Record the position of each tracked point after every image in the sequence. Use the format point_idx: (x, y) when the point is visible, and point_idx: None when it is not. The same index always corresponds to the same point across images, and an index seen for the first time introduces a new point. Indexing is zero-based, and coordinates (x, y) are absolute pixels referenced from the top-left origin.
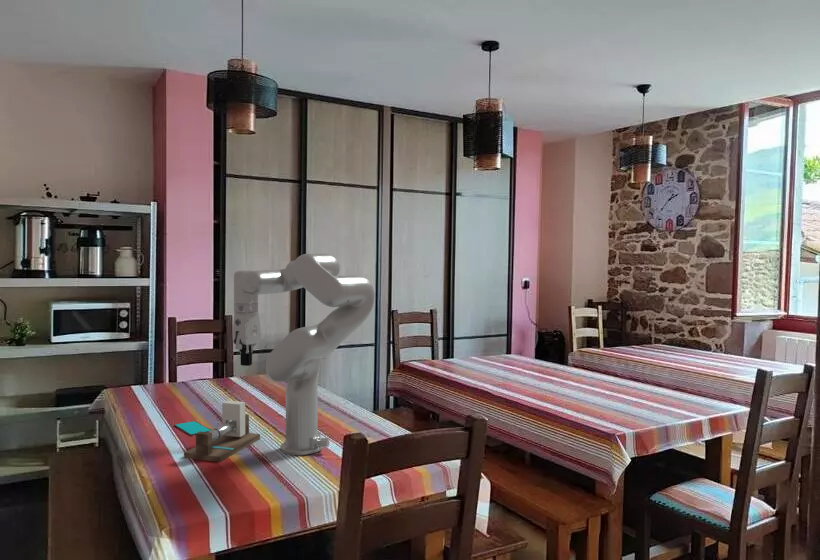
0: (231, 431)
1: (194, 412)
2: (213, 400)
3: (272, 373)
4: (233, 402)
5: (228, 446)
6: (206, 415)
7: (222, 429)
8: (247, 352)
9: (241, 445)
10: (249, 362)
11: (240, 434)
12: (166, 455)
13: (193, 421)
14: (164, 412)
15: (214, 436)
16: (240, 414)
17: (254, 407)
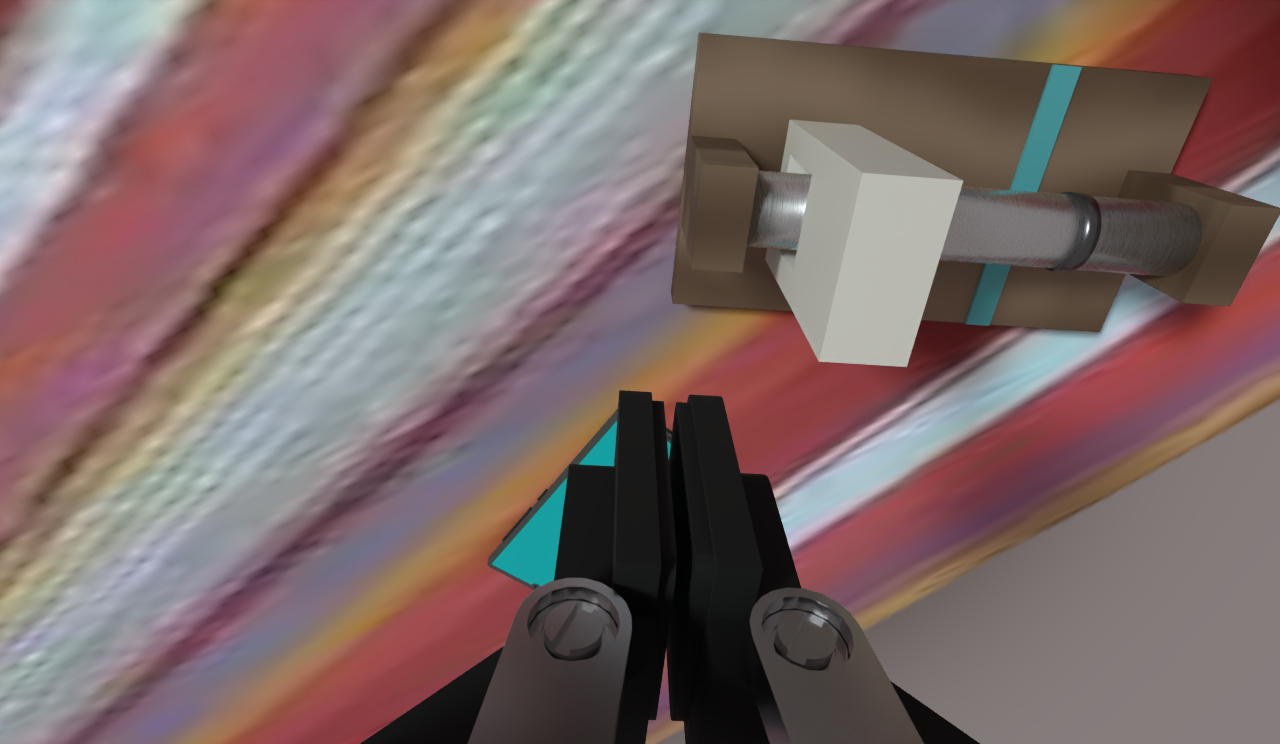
0: None
1: (335, 635)
2: (90, 661)
3: None
4: (885, 279)
5: (998, 131)
6: (356, 566)
7: (1040, 206)
8: (825, 623)
9: (957, 56)
10: (728, 423)
11: (857, 127)
12: (1035, 416)
13: (498, 564)
14: None
15: (1145, 201)
16: (913, 157)
17: (59, 412)
